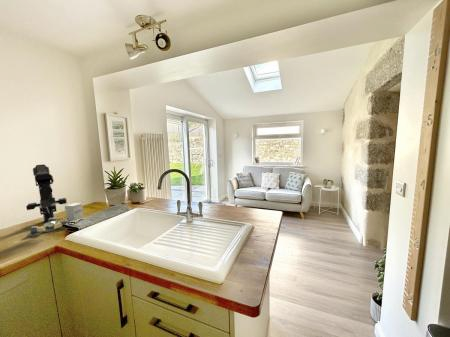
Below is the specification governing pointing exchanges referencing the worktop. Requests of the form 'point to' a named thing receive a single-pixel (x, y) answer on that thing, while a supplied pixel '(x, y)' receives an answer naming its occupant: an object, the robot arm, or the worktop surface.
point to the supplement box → (74, 211)
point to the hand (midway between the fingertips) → (49, 216)
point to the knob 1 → (36, 229)
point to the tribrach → (47, 228)
